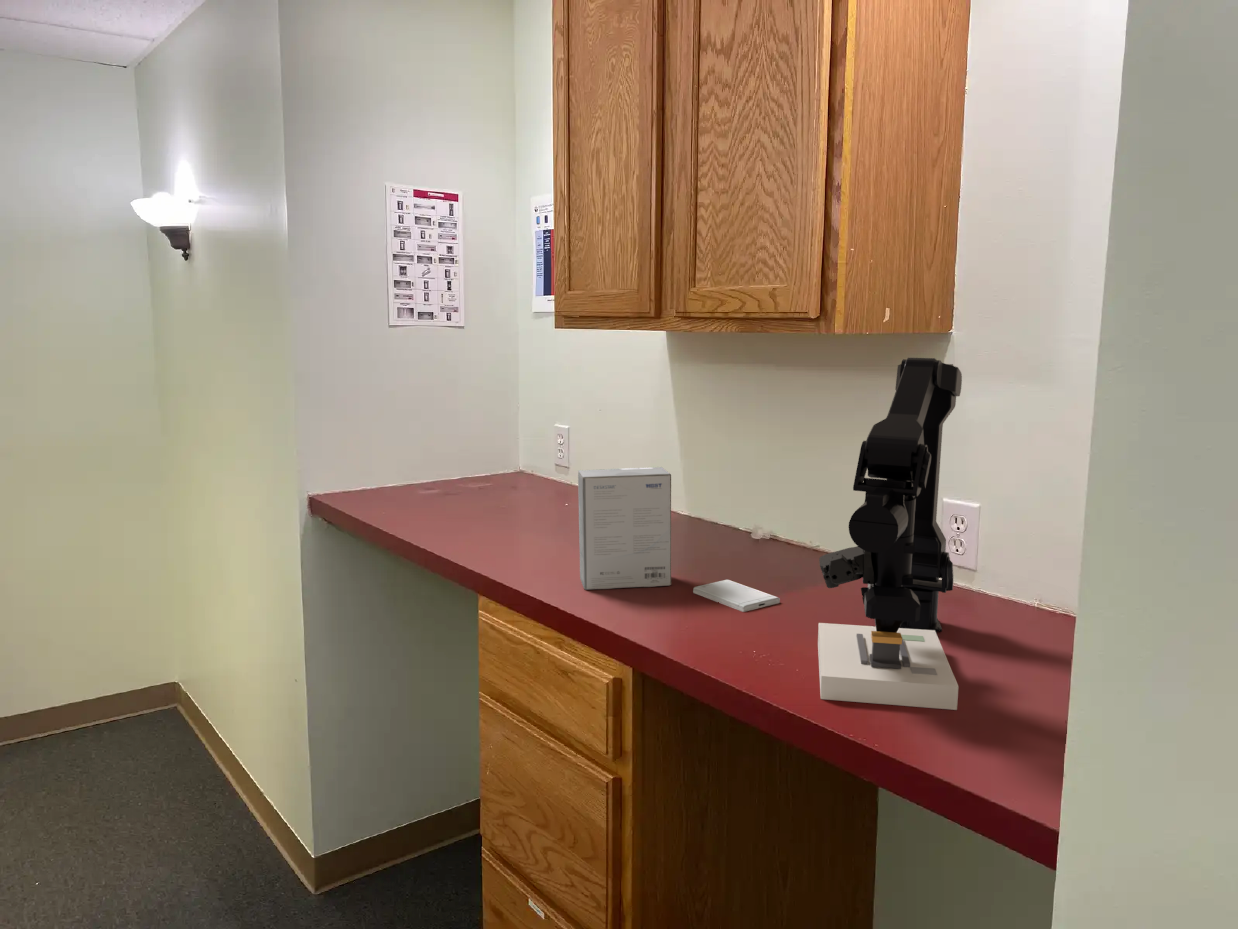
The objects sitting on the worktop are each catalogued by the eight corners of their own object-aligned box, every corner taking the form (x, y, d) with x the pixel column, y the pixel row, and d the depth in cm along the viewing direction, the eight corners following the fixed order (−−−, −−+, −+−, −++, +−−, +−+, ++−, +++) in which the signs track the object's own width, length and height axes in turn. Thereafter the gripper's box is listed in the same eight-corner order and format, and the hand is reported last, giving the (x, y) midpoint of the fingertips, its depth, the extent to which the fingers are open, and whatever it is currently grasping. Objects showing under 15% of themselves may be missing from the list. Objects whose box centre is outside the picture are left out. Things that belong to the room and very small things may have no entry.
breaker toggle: (869, 657, 119) (870, 629, 118) (898, 659, 118) (900, 631, 117) (871, 666, 116) (872, 638, 115) (901, 669, 115) (902, 640, 114)
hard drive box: (663, 574, 167) (664, 466, 164) (671, 587, 160) (673, 473, 156) (578, 578, 165) (577, 468, 162) (583, 590, 157) (582, 476, 154)
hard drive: (693, 587, 156) (743, 605, 146) (729, 578, 161) (780, 595, 151) (692, 596, 157) (743, 615, 147) (728, 588, 161) (779, 605, 151)
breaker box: (817, 642, 133) (818, 619, 132) (933, 650, 130) (935, 627, 129) (820, 699, 113) (821, 672, 113) (956, 710, 110) (958, 682, 110)
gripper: (823, 510, 127) (818, 618, 130) (826, 549, 109) (820, 672, 112) (907, 514, 124) (900, 623, 128) (924, 554, 106) (916, 680, 110)
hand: (883, 648), depth 119 cm, fingers closed
